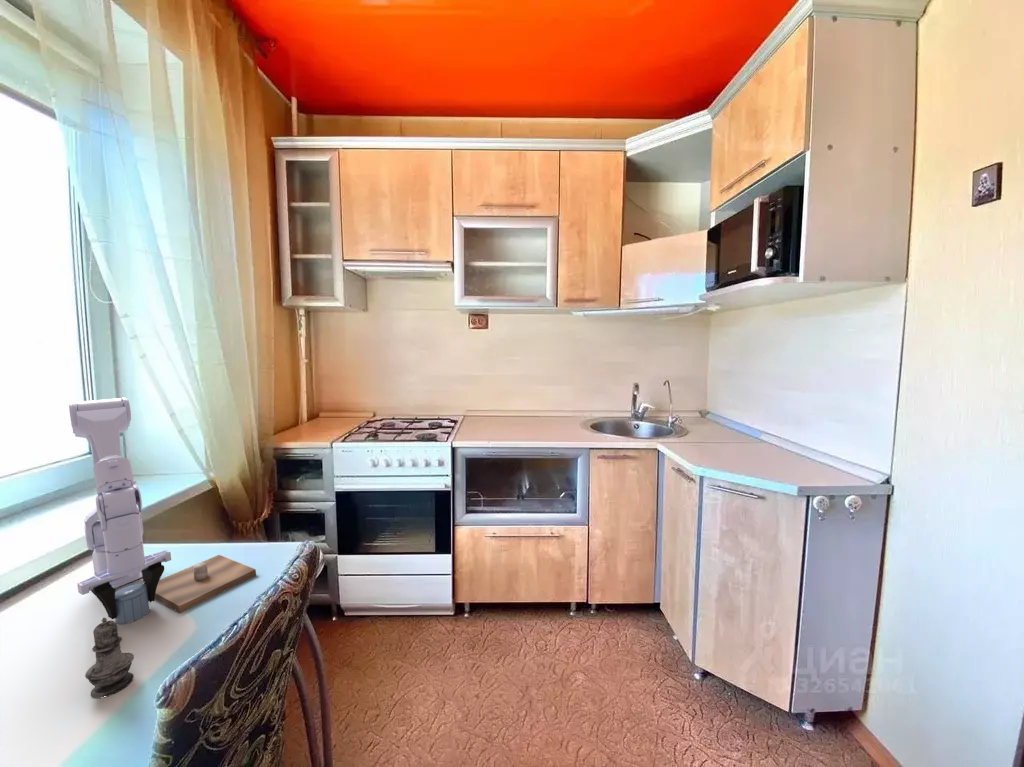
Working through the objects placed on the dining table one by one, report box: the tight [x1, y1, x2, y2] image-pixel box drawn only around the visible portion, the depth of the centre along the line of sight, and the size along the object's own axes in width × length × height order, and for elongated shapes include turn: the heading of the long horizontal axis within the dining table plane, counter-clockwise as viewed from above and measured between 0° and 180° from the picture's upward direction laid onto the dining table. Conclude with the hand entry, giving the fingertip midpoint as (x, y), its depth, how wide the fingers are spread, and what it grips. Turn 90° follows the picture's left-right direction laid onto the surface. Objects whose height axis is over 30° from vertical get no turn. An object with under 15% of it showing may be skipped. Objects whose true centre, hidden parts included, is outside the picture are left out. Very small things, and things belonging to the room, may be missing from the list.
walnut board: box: [154, 554, 257, 613], centre depth 100 cm, size 16×16×4 cm
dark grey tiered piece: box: [84, 617, 135, 699], centre depth 70 cm, size 6×6×12 cm
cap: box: [114, 583, 150, 625], centre depth 89 cm, size 5×5×6 cm
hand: (131, 608), depth 89 cm, fingers open, 6 cm apart
